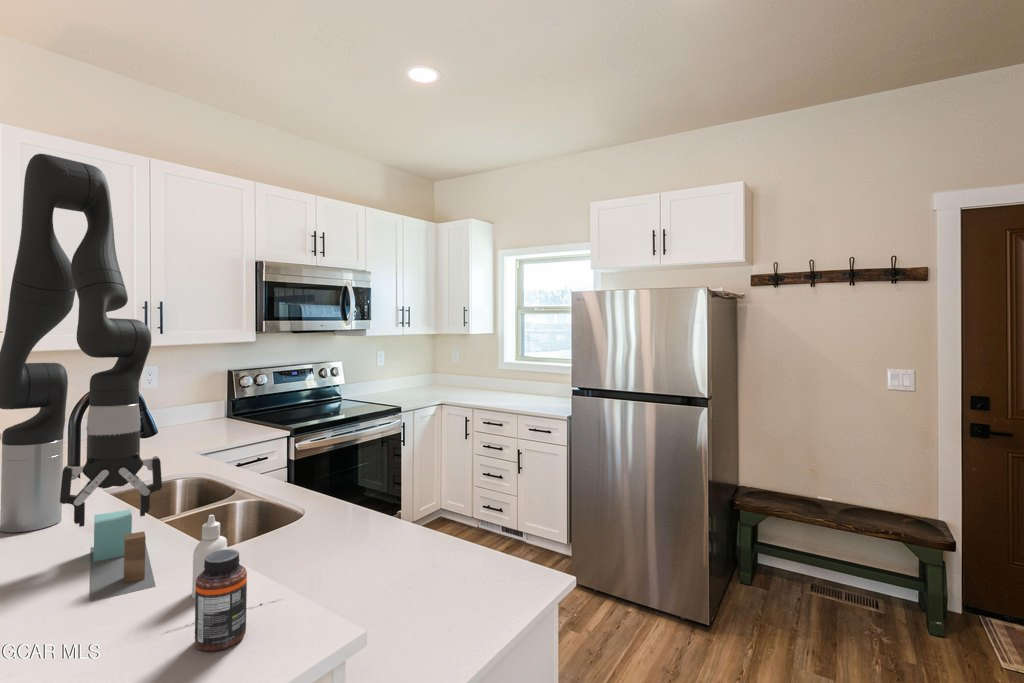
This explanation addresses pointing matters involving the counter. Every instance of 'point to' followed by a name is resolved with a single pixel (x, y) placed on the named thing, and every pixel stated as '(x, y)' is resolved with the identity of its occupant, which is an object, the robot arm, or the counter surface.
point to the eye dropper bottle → (207, 547)
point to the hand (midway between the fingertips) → (112, 520)
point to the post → (134, 557)
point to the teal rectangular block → (111, 534)
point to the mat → (115, 578)
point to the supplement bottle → (220, 601)
